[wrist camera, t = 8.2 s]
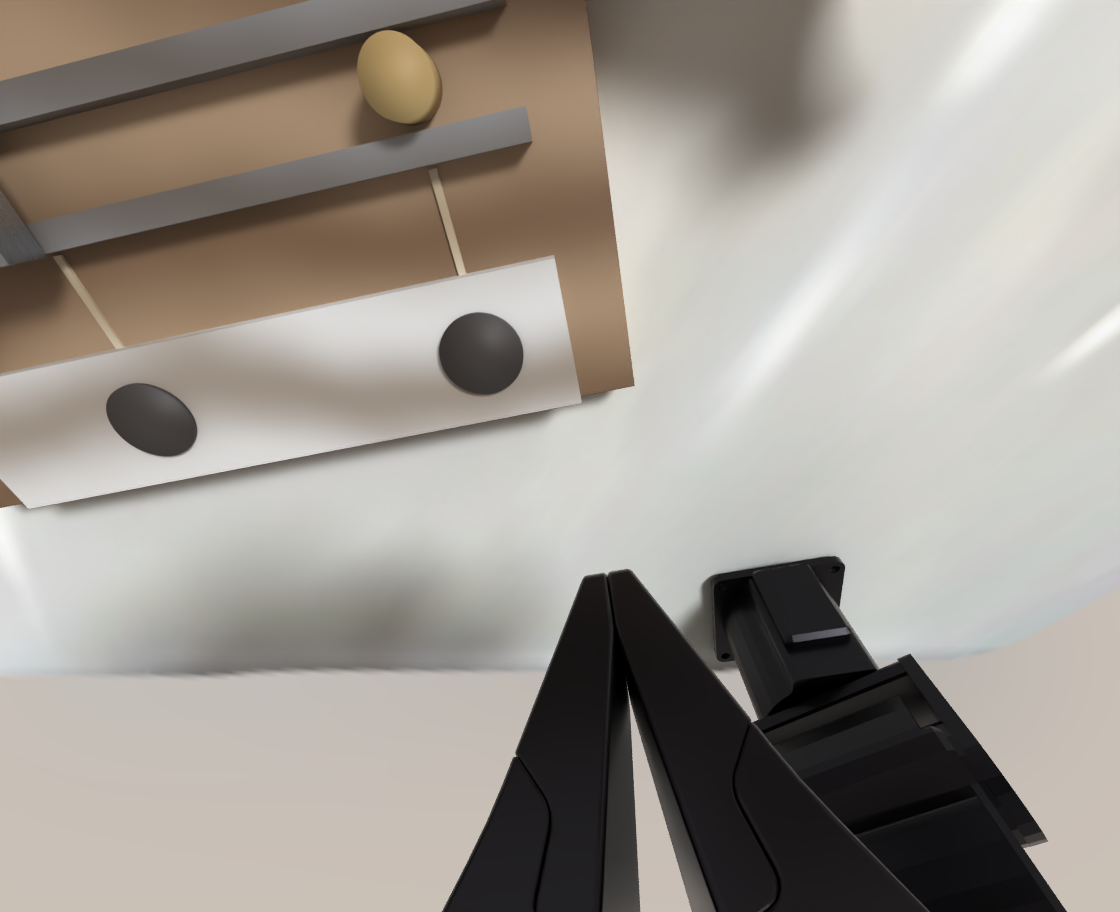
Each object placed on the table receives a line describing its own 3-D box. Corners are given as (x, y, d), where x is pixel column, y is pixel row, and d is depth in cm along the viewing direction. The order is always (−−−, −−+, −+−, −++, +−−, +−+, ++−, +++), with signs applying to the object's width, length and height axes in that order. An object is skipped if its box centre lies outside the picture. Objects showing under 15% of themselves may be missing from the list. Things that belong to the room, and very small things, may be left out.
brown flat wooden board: (628, 370, 20) (641, 403, 17) (29, 487, 21) (-41, 532, 19) (560, -152, 12) (564, -233, 10) (-333, 93, 14) (-526, 79, 12)
